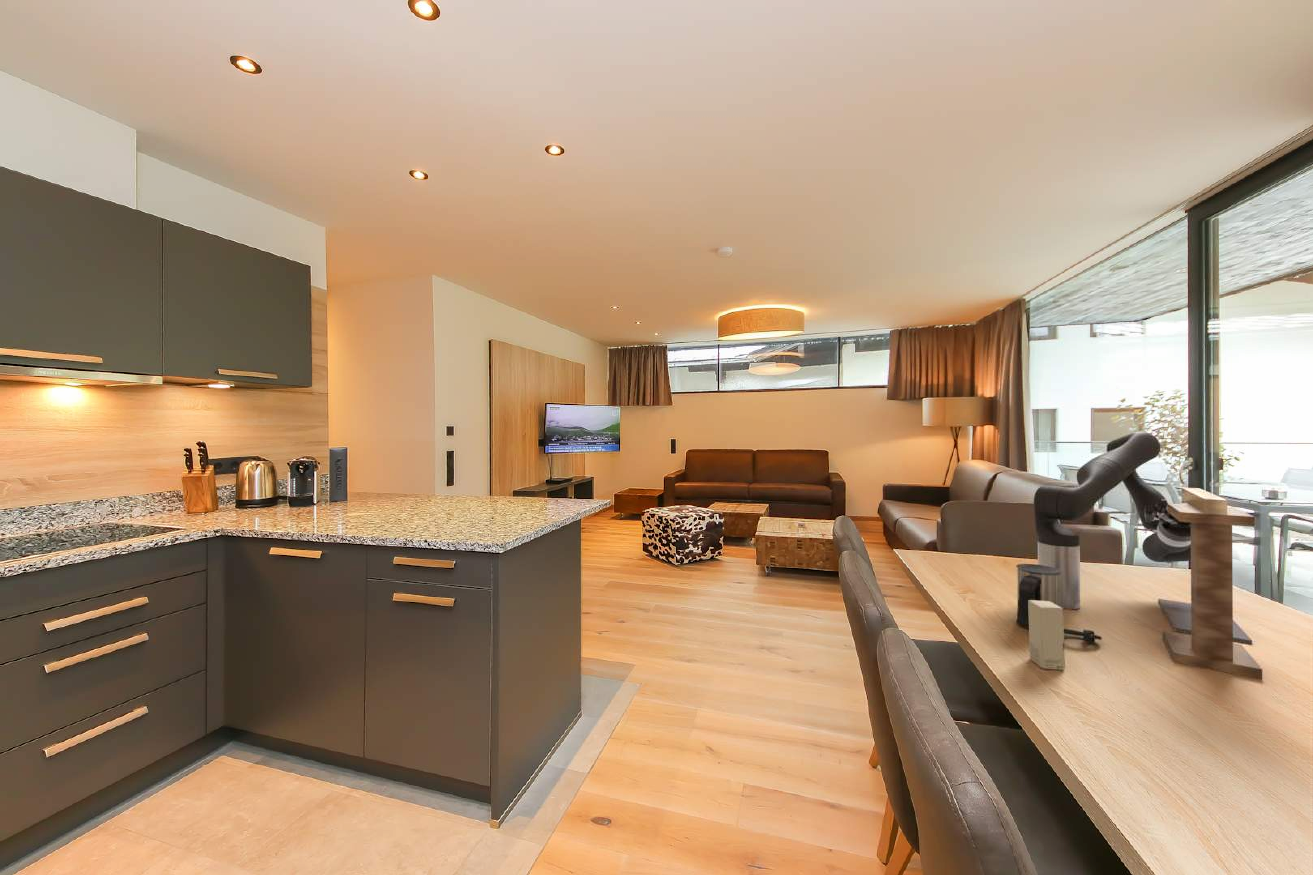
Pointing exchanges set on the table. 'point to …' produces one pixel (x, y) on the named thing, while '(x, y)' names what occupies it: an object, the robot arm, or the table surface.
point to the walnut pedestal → (1211, 595)
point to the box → (1046, 634)
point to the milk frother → (1041, 593)
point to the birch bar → (1204, 501)
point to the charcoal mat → (1182, 619)
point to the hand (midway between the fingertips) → (1189, 504)
